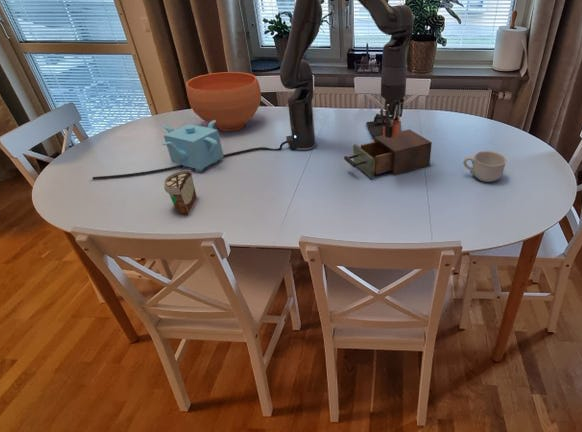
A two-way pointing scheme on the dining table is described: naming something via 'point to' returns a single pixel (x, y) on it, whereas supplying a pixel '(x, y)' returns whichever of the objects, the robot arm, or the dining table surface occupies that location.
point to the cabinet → (407, 151)
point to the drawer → (371, 158)
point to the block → (394, 129)
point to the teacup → (487, 165)
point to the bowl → (224, 98)
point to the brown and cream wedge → (181, 191)
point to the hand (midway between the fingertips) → (391, 134)
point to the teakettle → (194, 145)
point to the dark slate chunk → (375, 126)
